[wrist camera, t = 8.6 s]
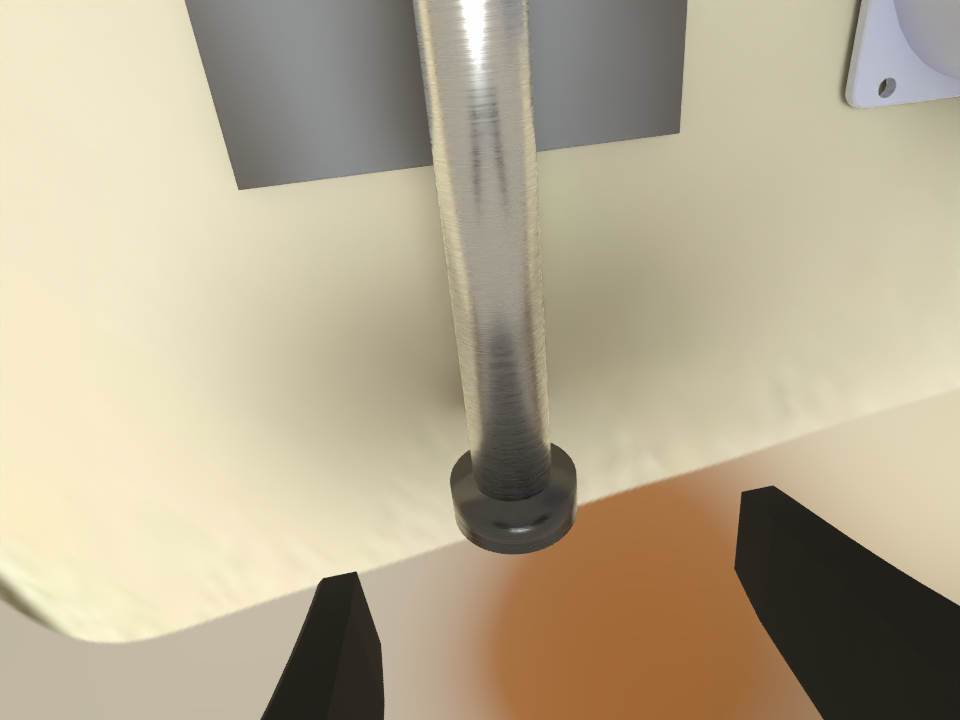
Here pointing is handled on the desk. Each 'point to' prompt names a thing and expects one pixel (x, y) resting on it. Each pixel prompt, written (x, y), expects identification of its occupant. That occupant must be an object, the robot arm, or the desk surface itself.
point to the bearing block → (419, 80)
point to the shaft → (494, 270)
